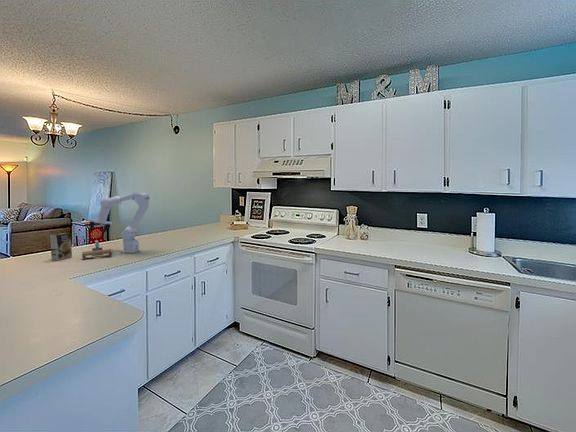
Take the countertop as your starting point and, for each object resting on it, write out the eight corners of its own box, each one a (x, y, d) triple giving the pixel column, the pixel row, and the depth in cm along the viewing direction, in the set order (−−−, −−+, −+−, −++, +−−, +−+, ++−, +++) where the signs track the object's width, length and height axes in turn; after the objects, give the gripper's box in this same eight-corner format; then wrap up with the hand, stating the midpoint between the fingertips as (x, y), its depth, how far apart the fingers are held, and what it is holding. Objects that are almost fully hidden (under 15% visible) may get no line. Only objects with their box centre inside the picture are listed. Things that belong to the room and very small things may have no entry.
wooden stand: (82, 257, 195) (82, 251, 194) (111, 254, 203) (111, 249, 203) (82, 260, 189) (82, 254, 189) (111, 257, 198) (111, 251, 197)
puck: (103, 257, 198) (103, 255, 198) (98, 259, 193) (98, 257, 193) (97, 257, 198) (96, 255, 198) (91, 259, 194) (91, 257, 193)
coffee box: (59, 260, 188) (57, 235, 186) (51, 259, 189) (49, 234, 187) (72, 257, 197) (71, 232, 195) (64, 256, 198) (62, 232, 196)
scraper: (92, 251, 213) (91, 241, 212) (102, 250, 216) (101, 241, 215) (92, 256, 200) (91, 245, 199) (102, 255, 203) (102, 244, 202)
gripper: (112, 215, 219) (106, 232, 220) (90, 211, 208) (84, 228, 210) (115, 218, 214) (109, 235, 215) (92, 214, 203) (85, 233, 205)
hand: (96, 232), depth 212 cm, fingers open, 7 cm apart
